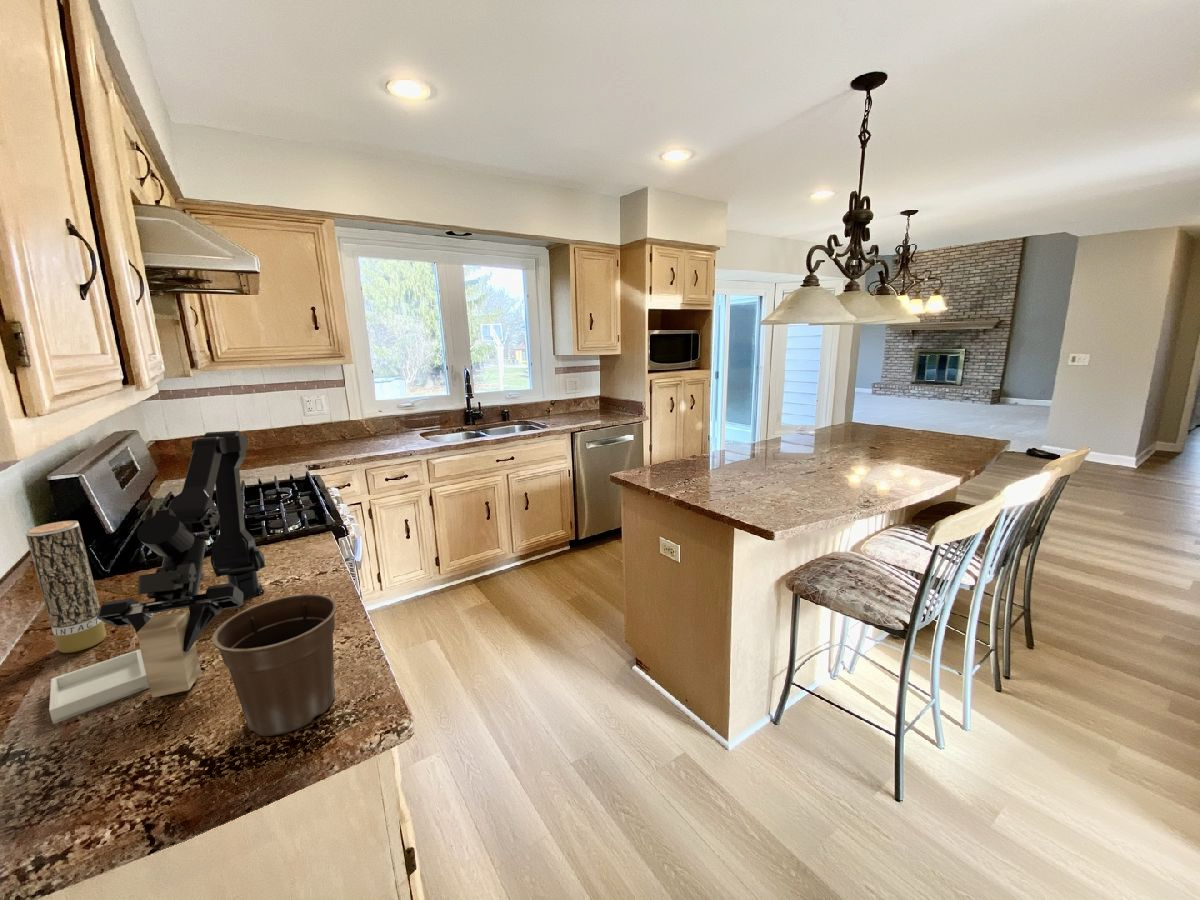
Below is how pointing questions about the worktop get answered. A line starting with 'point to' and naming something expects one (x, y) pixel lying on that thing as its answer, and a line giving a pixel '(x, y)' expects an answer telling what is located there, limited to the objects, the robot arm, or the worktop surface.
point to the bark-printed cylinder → (66, 585)
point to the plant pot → (281, 661)
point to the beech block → (168, 654)
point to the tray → (96, 685)
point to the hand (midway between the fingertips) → (166, 654)
